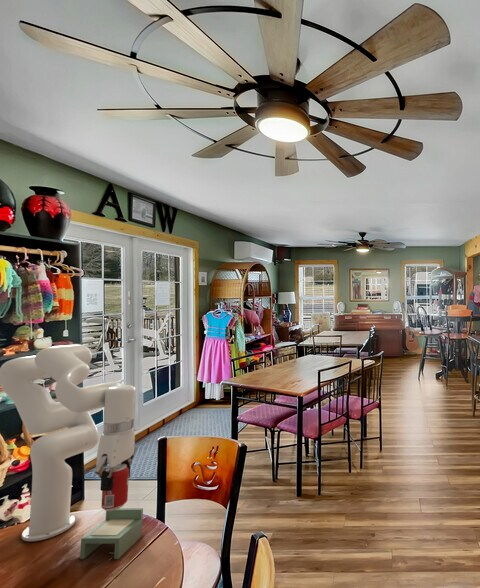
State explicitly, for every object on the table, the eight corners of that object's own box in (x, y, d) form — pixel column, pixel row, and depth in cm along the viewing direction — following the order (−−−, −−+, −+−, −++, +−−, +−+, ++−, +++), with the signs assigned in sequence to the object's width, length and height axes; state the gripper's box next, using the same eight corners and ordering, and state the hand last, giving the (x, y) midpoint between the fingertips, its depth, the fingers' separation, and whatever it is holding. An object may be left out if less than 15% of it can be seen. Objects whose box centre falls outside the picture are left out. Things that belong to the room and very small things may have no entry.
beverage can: (132, 501, 109) (134, 463, 109) (114, 513, 103) (116, 473, 103) (114, 500, 109) (116, 462, 110) (95, 511, 103) (97, 471, 104)
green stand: (79, 559, 100) (81, 528, 101) (106, 536, 110) (108, 508, 111) (118, 559, 101) (120, 528, 101) (141, 536, 111) (143, 508, 111)
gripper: (127, 416, 115) (124, 470, 115) (82, 436, 98) (78, 499, 97) (149, 417, 116) (146, 470, 115) (109, 436, 98) (105, 499, 98)
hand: (115, 483), depth 106 cm, fingers closed on beverage can, 6 cm apart
